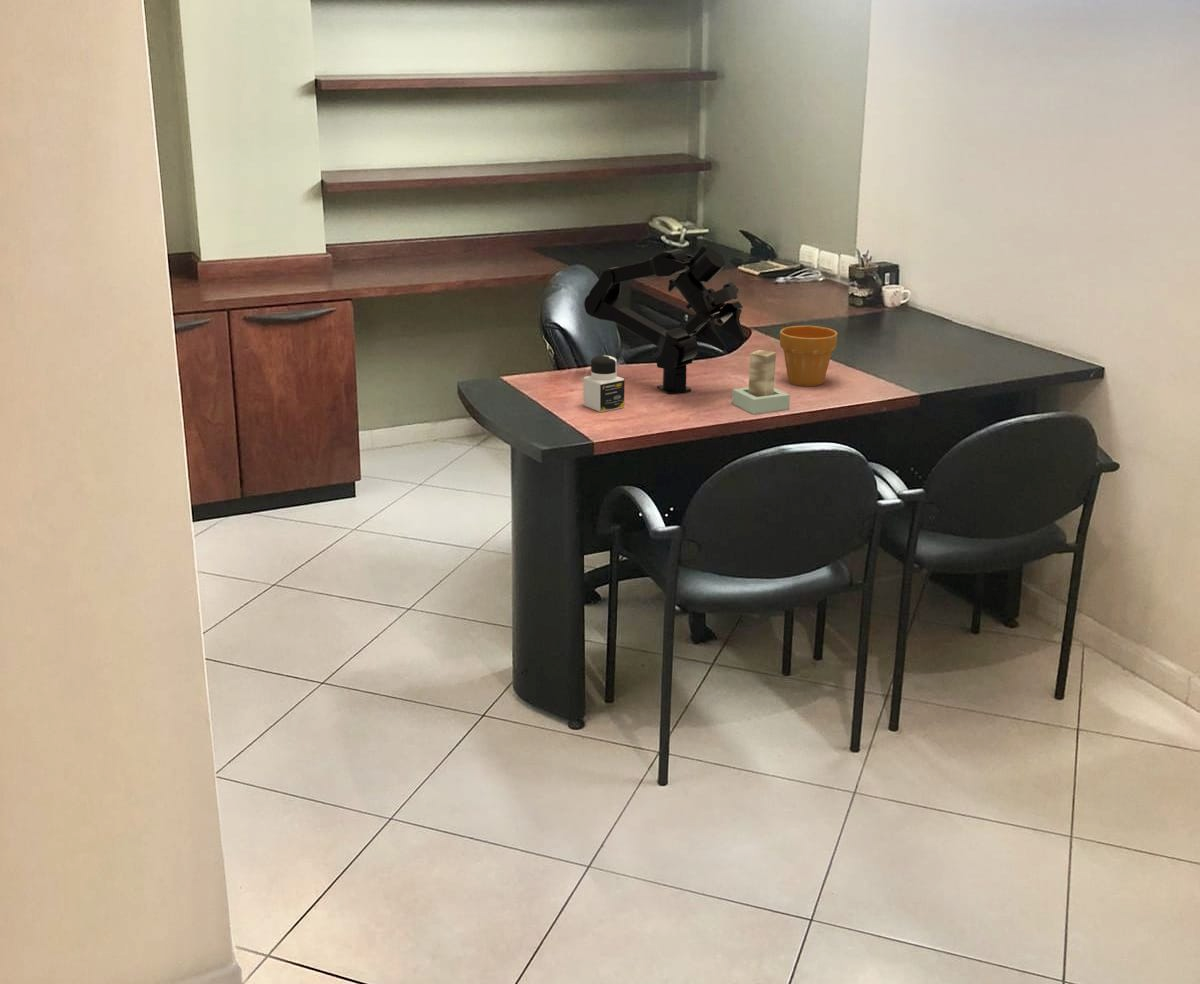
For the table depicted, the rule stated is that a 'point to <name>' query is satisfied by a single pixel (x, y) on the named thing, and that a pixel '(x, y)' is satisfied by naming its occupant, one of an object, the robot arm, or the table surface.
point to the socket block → (760, 401)
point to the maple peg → (762, 373)
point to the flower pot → (807, 353)
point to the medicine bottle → (603, 385)
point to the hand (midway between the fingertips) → (734, 345)
